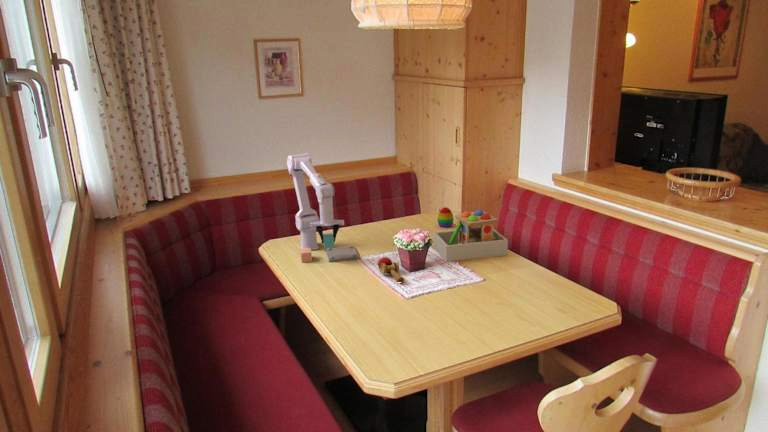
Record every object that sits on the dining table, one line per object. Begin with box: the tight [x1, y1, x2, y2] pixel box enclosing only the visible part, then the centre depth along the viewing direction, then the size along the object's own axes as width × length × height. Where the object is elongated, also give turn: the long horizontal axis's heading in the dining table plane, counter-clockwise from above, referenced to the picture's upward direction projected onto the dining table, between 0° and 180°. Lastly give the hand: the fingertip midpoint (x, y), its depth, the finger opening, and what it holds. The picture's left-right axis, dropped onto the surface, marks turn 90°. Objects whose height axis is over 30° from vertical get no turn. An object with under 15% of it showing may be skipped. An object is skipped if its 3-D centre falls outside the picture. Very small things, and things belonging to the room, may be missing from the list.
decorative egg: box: [437, 207, 455, 229], centre depth 279 cm, size 8×8×10 cm
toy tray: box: [433, 228, 509, 263], centre depth 245 cm, size 19×28×7 cm
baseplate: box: [325, 245, 360, 263], centre depth 246 cm, size 14×13×2 cm
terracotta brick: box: [299, 248, 313, 264], centre depth 241 cm, size 6×4×4 cm
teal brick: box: [322, 232, 335, 249], centre depth 238 cm, size 6×4×4 cm
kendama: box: [377, 256, 405, 283], centre depth 222 cm, size 8×6×18 cm
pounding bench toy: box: [448, 209, 499, 245], centre depth 243 cm, size 23×14×18 cm, turn 109°
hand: (328, 241), depth 239 cm, fingers closed on teal brick, 4 cm apart
